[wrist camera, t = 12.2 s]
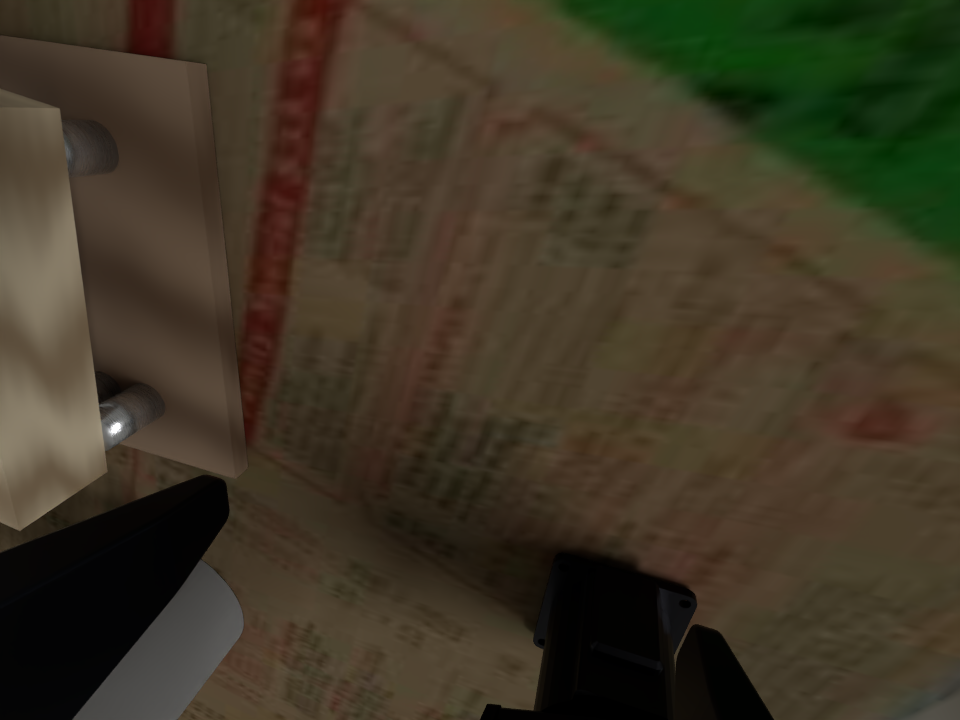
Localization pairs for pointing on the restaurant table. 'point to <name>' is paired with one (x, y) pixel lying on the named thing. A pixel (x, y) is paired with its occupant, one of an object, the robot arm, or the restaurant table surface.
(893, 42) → the restaurant table surface
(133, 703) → the coffee mug
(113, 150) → the peg holder
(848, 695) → the restaurant table surface
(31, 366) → the pine board
